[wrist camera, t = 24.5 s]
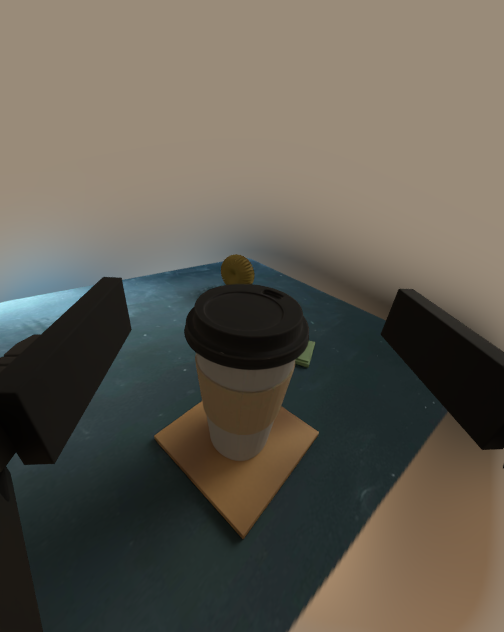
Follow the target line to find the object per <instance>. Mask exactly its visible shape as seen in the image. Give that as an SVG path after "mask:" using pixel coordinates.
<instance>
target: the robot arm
mask: <svg viewBox="0 0 504 632" xmlns="http://www.w3.org/2000/svg"><path fill="white" fill-rule="evenodd" d="M130 331H131V324H130V319H129V314H128V309H127V304H126V298H125V293H124V288H123V283H122V278H115V277H103V278H102V279H101V280H100V281H98V282H97V283H96V284H95V285H94V286H93V287H92V288H91V289H90V290H89V291H88V292H87V293H85V294H84V295H83V296H82V297H81V298H80V299H79V300H78V301H77V302H76V303H75V304H74V305H73V306H71V307H70V308H69V309H68V310H67V311H66V312H65V313H64V314H63V315H62V316H61V317H60V318H58V319H57V320H56V321H55V322H54V323H53V324H52V325H51V326H50V327H49V328H48V329H47V330H46V331H44V332H43V333H42V334H41V335H32V336H30V337H28V338H27V339H25V340H23V341H21V342H19V343H17V344H16V345H15V346H13V347H12V348H11V349H10V350H9V351H8V352H6V353H5V354H4V357H1V358H0V632H43V629H42V624H41V619H40V615H39V610H38V605H37V600H36V595H35V590H34V585H33V581H32V576H31V571H30V566H29V561H28V556H27V551H26V546H25V542H24V537H23V532H22V527H21V522H20V517H19V512H18V508H17V503H16V498H15V493H14V488H13V483H12V478H11V474H10V472H9V470H8V469H7V467H6V465H7V464H8V462H9V461H10V460H11V458H12V457H13V456H14V454H15V453H17V454H18V456H19V457H20V459H21V460H22V462H23V464H24V465H32V464H55V462H56V460H57V459H58V457H59V455H60V453H61V452H62V450H63V448H64V446H65V445H66V443H67V441H68V439H69V438H70V436H71V434H72V432H73V431H74V429H75V427H76V425H77V424H78V422H79V420H80V419H81V417H82V415H83V413H84V412H85V410H86V408H87V406H88V405H89V403H90V401H91V399H92V398H93V396H94V394H95V392H96V391H97V389H98V387H99V385H100V384H101V382H102V380H103V378H104V377H105V375H106V373H107V372H108V370H109V368H110V366H111V365H112V363H113V361H114V359H115V358H116V356H117V354H118V352H119V351H120V349H121V347H122V345H123V344H124V342H125V340H126V338H127V337H128V335H129V333H130ZM381 336H382V337H383V338H384V339H385V340H386V341H387V342H388V343H389V345H390V346H391V347H392V348H393V349H394V350H395V351H396V353H397V354H398V355H399V356H400V357H401V358H402V359H403V361H404V362H405V363H406V364H407V365H408V366H409V367H410V368H411V370H412V371H413V372H414V373H415V374H416V375H417V376H418V378H419V379H420V380H421V381H422V382H423V383H424V384H425V386H426V387H427V388H428V389H429V390H430V391H431V392H432V394H433V395H434V396H435V397H436V398H437V399H438V400H439V401H440V403H441V404H442V405H443V406H444V407H445V408H446V409H447V411H448V412H449V413H450V414H451V415H452V416H453V417H454V419H455V420H456V421H457V422H458V423H459V424H460V425H461V426H462V428H463V429H464V430H465V431H466V432H467V433H468V434H469V435H470V436H471V438H472V439H473V440H474V441H475V442H476V443H477V445H478V446H479V447H480V448H481V449H482V450H489V449H503V448H504V352H503V351H501V350H500V349H498V348H497V347H496V346H494V345H493V344H491V343H489V341H487V340H486V339H484V338H483V337H481V336H480V335H478V334H477V333H475V332H474V331H473V330H471V329H469V328H468V327H467V326H465V325H464V324H463V323H461V322H460V321H458V320H457V319H455V318H454V317H452V316H451V315H449V314H448V313H447V312H445V311H444V310H442V309H441V308H439V307H438V306H437V305H435V304H434V303H432V302H431V301H429V300H428V299H426V298H425V297H424V296H422V295H421V294H419V293H418V292H416V291H415V290H413V289H399V290H398V292H397V295H396V297H395V300H394V302H393V305H392V307H391V310H390V312H389V315H388V317H387V320H386V322H385V325H384V327H383V330H382V332H381ZM503 468H504V465H503Z"/></svg>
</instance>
